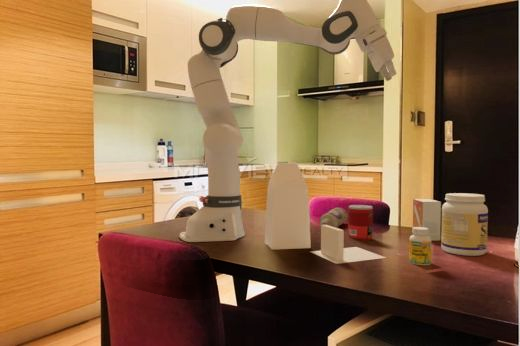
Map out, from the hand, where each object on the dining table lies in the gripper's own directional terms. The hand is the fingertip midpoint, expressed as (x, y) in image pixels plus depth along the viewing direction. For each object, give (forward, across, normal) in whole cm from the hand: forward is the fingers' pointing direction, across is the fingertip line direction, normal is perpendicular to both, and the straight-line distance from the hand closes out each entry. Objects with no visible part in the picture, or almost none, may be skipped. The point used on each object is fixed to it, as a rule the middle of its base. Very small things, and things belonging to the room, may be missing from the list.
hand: (391, 77), depth 137 cm
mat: (+40, +25, -38) cm, 60 cm away
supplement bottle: (+49, +30, -22) cm, 61 cm away
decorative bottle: (+39, -19, -42) cm, 60 cm away
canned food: (+43, -1, -33) cm, 54 cm away
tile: (+38, +28, -41) cm, 62 cm away
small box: (+53, -4, -13) cm, 55 cm away
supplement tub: (+56, +14, -8) cm, 58 cm away
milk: (+32, +15, -54) cm, 64 cm away
